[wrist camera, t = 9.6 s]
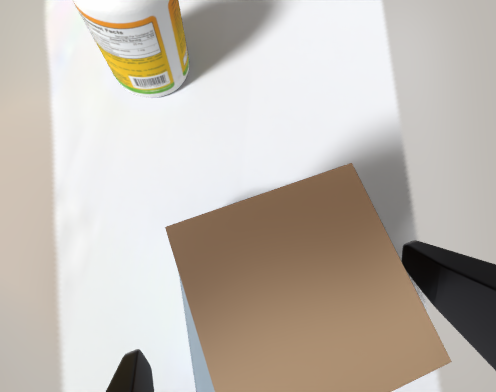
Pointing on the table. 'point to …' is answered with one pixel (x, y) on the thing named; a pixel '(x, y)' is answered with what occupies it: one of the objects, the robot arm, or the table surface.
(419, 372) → the walnut block
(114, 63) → the supplement bottle
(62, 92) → the table surface
